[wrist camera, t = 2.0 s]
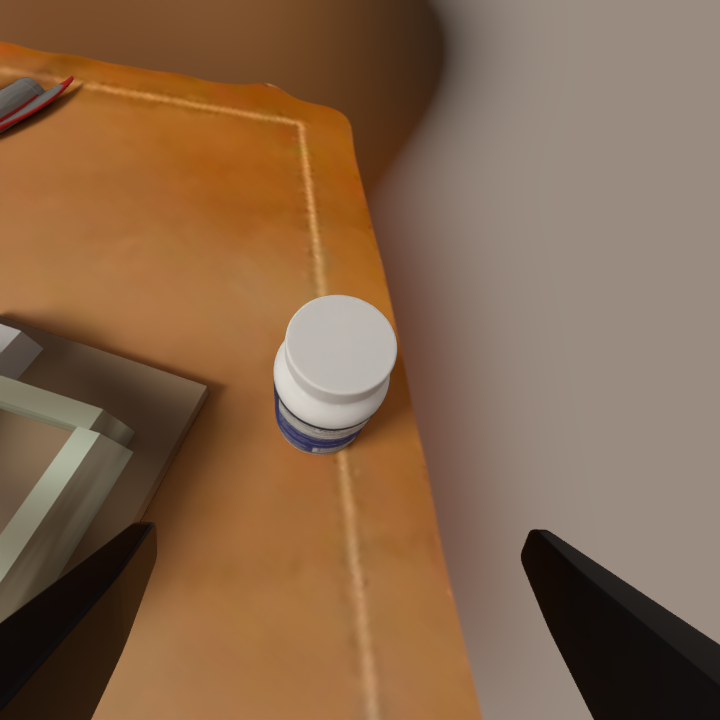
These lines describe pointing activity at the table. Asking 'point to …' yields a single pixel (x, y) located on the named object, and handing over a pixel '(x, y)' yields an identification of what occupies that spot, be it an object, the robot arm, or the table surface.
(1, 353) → the block
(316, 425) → the pill bottle
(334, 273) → the table surface
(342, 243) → the table surface
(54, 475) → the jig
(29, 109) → the toy spaceship
